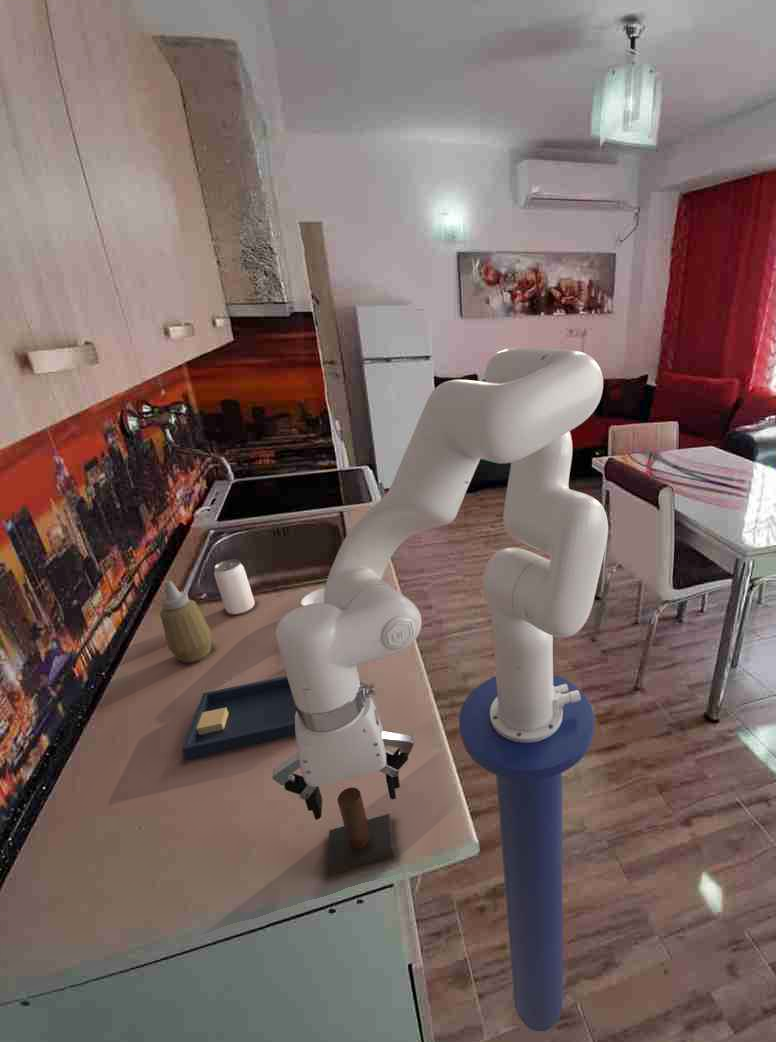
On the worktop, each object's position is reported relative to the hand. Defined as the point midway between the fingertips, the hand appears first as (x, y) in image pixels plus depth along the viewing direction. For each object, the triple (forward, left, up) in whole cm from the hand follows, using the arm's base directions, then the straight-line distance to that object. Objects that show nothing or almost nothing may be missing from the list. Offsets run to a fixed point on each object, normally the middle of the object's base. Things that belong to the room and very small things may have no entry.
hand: (356, 799), depth 68 cm
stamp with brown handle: (0, +3, -6) cm, 6 cm away
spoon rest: (+7, -54, -6) cm, 55 cm away
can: (+28, -69, -6) cm, 74 cm away
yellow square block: (+25, -28, -5) cm, 38 cm away
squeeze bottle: (+34, -52, -6) cm, 62 cm away
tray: (+18, -28, -6) cm, 34 cm away
